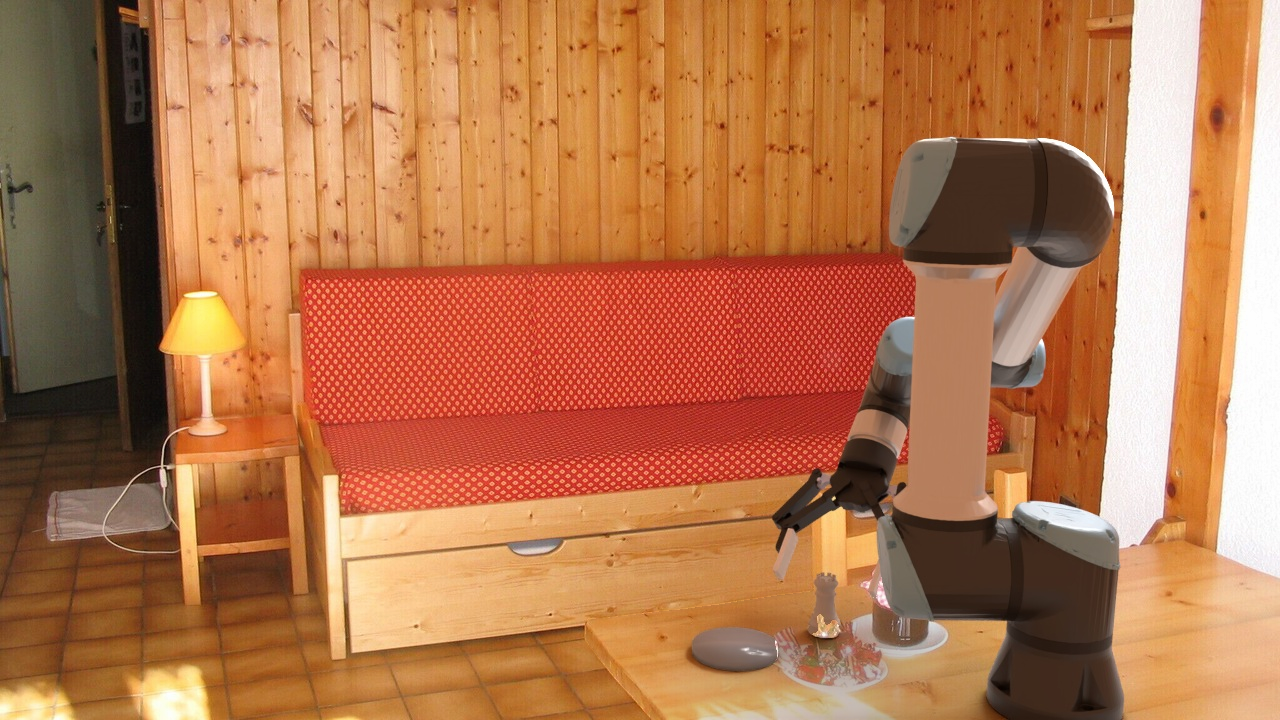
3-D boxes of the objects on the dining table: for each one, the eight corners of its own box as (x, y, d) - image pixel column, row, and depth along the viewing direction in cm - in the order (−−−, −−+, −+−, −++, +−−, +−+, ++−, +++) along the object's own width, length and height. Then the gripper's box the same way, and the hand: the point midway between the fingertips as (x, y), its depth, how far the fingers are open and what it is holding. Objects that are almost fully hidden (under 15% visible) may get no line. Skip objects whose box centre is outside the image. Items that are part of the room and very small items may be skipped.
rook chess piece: (818, 624, 171) (820, 567, 170) (847, 632, 168) (849, 575, 167) (800, 634, 168) (802, 576, 166) (830, 643, 165) (832, 584, 163)
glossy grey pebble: (792, 647, 163) (793, 638, 163) (754, 678, 154) (754, 669, 154) (717, 629, 169) (717, 620, 169) (675, 658, 160) (675, 649, 160)
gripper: (964, 477, 173) (921, 617, 164) (797, 451, 186) (748, 579, 177) (954, 448, 168) (909, 591, 158) (783, 423, 181) (731, 554, 171)
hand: (824, 585), depth 167 cm, fingers open, 13 cm apart
